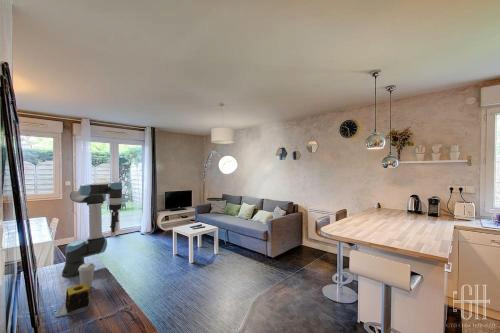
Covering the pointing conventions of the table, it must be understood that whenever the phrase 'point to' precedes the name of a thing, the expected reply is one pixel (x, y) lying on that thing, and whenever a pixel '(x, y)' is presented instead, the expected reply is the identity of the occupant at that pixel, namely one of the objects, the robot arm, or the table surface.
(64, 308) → the coaster
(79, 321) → the table surface
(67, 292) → the candle
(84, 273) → the coffee cup
